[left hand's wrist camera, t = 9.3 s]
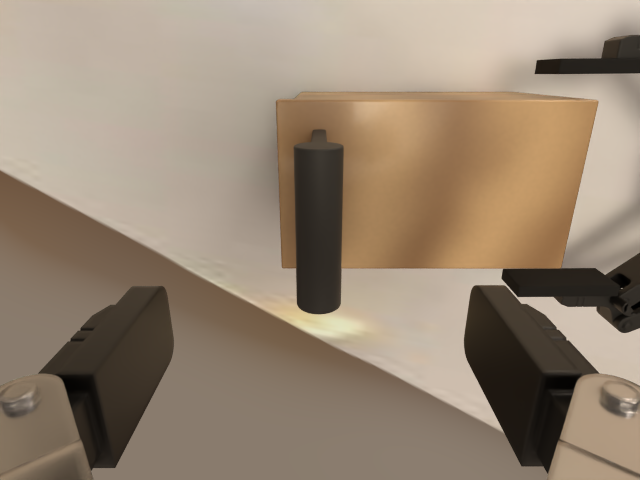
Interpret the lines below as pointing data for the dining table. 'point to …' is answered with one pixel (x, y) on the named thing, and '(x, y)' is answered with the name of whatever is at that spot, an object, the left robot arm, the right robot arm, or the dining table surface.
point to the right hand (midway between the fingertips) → (526, 184)
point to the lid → (425, 185)
